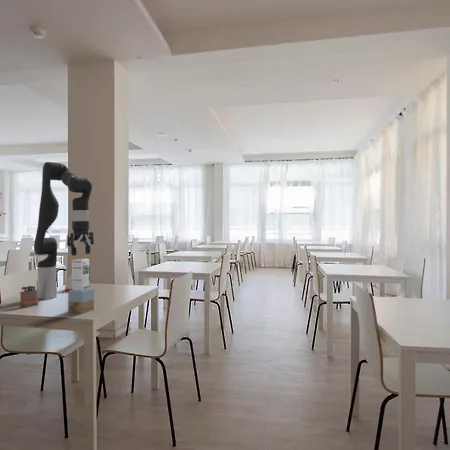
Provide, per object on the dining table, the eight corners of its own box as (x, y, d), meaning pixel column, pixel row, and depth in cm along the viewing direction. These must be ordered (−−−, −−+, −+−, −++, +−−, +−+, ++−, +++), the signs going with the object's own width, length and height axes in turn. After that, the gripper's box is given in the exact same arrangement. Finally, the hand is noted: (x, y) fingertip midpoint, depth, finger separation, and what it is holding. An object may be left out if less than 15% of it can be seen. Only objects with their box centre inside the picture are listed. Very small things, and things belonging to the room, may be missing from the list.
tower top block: (68, 301, 170) (68, 290, 170) (79, 298, 177) (79, 287, 177) (83, 302, 167) (83, 291, 167) (93, 299, 175) (93, 288, 175)
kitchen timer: (84, 286, 237) (83, 263, 237) (92, 289, 227) (92, 265, 226) (61, 289, 227) (61, 265, 227) (70, 292, 217) (69, 267, 217)
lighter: (36, 304, 187) (36, 284, 187) (39, 305, 185) (38, 285, 185) (19, 306, 181) (19, 286, 181) (21, 307, 179) (21, 287, 179)
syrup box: (82, 291, 169) (82, 259, 169) (71, 290, 170) (71, 259, 170) (90, 288, 174) (90, 258, 174) (79, 288, 176) (79, 258, 176)
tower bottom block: (68, 312, 170) (68, 301, 170) (80, 308, 178) (80, 298, 178) (81, 313, 167) (81, 302, 167) (93, 309, 175) (93, 299, 175)
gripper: (85, 220, 180) (85, 253, 180) (62, 220, 167) (63, 255, 167) (97, 220, 177) (97, 253, 177) (75, 220, 164) (75, 256, 164)
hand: (81, 254), depth 172 cm, fingers open, 8 cm apart
